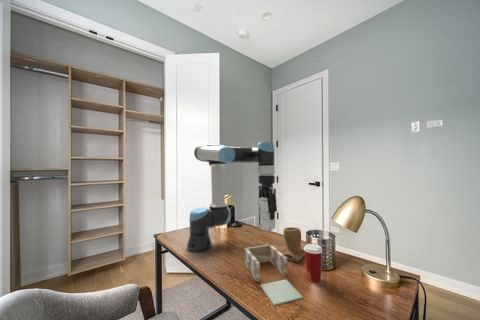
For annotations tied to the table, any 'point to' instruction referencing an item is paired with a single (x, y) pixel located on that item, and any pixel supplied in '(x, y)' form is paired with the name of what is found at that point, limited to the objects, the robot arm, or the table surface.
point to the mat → (280, 292)
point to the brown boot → (293, 244)
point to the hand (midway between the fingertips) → (267, 223)
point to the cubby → (264, 259)
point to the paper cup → (313, 262)
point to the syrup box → (264, 215)
